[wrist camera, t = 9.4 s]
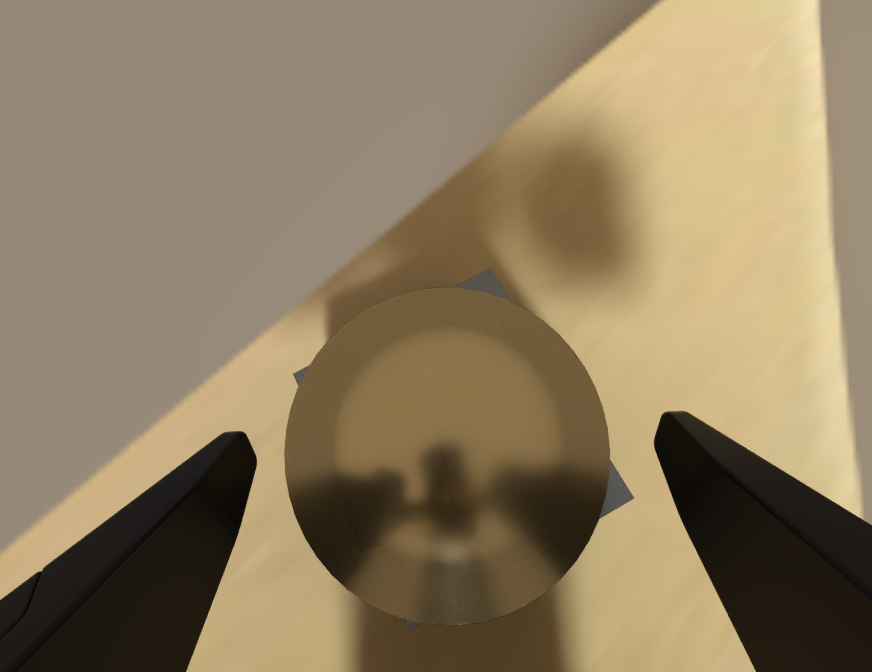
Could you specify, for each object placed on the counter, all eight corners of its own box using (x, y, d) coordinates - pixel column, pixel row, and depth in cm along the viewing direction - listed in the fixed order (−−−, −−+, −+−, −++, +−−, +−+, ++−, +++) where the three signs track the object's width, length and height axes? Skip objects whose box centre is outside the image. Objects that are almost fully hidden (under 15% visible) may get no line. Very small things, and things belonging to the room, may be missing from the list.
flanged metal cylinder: (471, 511, 18) (497, 710, 5) (381, 448, 19) (220, 488, 6) (528, 417, 19) (668, 393, 6) (439, 360, 20) (401, 235, 7)
